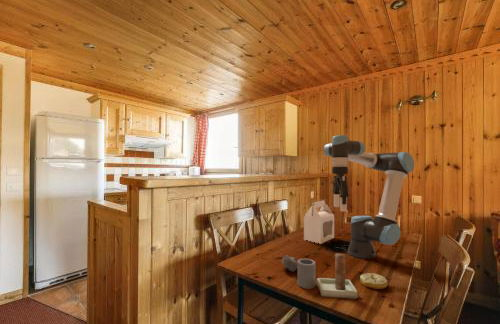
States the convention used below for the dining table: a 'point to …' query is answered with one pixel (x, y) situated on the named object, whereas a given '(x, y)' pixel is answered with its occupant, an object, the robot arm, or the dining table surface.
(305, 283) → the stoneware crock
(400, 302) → the dining table surface
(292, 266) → the fossil
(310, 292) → the dining table surface
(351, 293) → the sage tray
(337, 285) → the walnut dowel
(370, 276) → the decorated donut
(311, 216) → the gable box
